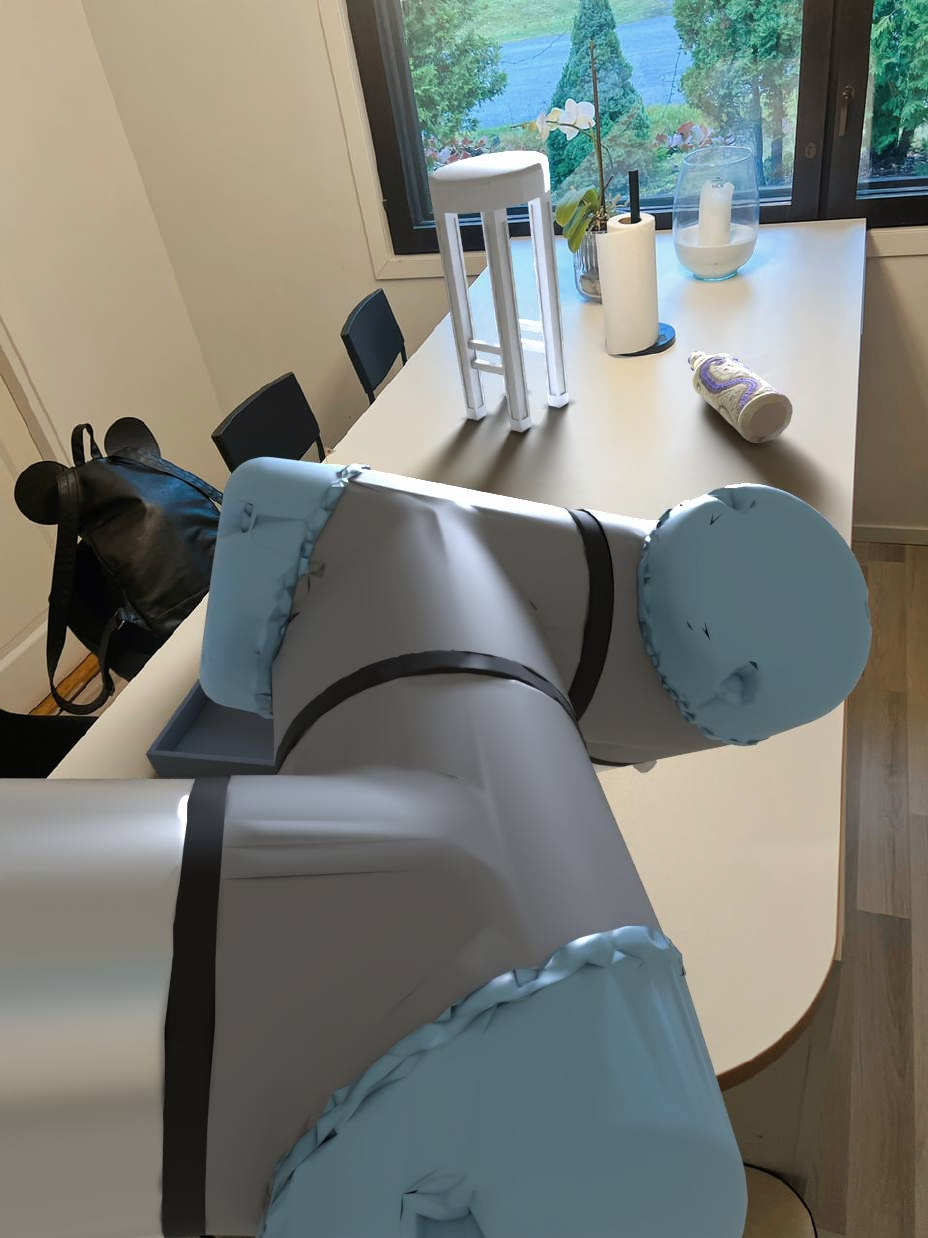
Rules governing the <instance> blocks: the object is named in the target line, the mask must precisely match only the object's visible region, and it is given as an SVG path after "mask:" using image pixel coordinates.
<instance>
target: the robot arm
mask: <svg viewBox="0 0 928 1238" xmlns="http://www.w3.org/2000/svg"><path fill="white" fill-rule="evenodd" d="M329 464H330V463H320V462H311V461H303V460H296V459H287V458H279V457H270V456H261V457H256V458H252V459H249V460H246V461H244V462H242V463H241V464H239V466H237V467H236V468H235V470H233V471H232V472H231V474H230V476H229V477H228V479H227V481H226V483H225V486H224V488H223V494H222V500H221V506H220V511H219V512H220V513H219V519H218V526H217V533H216V540H215V547H214V552H213V553H214V555H213V560H212V568H211V574H210V575H211V576H210V581H209V582H210V583H209V589H208V597H207V604H206V610H205V611H206V612H205V618H204V619H205V620H204V625H203V626H204V627H203V633H202V634H203V635H202V643H201V650H200V651H201V652H200V660H199V671H198V678H199V680H200V684H201V687H202V689H203V690H204V692H205V694H206V695H207V696H208V697H209V698H210V699H212V700H213V701H214V702H215V703H218V704H220V705H223V706H227V707H231V708H236V709H240V710H245V711H250V712H254V713H258V714H259V715H260V716H262V717H263V718H265V719H273V720H274V771H273V775H232V776H231V778H230V777H229V776H197V777H196V779H169V778H0V1238H191V1237H192V1238H193V1237H198V1236H199V1237H200V1236H231V1237H254V1238H743V1235H744V1232H745V1226H746V1220H747V1219H746V1218H747V1212H748V1202H749V1197H748V1188H747V1177H746V1171H745V1166H744V1162H743V1158H742V1155H741V1151H740V1149H739V1146H738V1143H737V1139H736V1136H735V1133H734V1130H733V1126H732V1123H731V1120H730V1116H729V1114H728V1111H727V1107H726V1104H725V1101H724V1097H723V1094H722V1091H721V1087H720V1085H719V1081H718V1078H717V1075H716V1071H715V1068H714V1065H713V1062H712V1059H711V1055H710V1052H709V1049H708V1046H707V1042H706V1040H705V1037H704V1033H703V1030H702V1026H701V1024H700V1023H701V1022H700V1021H699V1018H698V1014H697V1010H696V1008H695V1004H694V1002H693V997H692V994H691V991H690V988H689V985H688V981H687V978H686V975H687V971H686V968H685V966H684V961H683V953H682V952H681V951H680V950H679V949H678V947H677V946H676V945H675V944H674V942H673V941H672V939H671V938H670V937H668V936H667V935H665V933H664V931H663V929H662V927H661V924H660V922H659V919H658V917H657V914H656V912H655V910H654V907H653V905H652V903H651V900H650V898H649V895H648V893H647V891H646V888H645V886H644V884H643V881H642V879H641V876H640V873H639V872H638V869H637V867H636V865H635V863H634V859H633V858H632V855H631V852H630V851H629V848H628V845H627V844H626V841H625V838H624V837H623V833H622V832H621V829H620V826H619V824H618V822H617V819H616V817H615V815H614V812H613V810H612V808H611V805H610V803H609V801H608V798H607V795H606V794H605V791H604V788H603V787H602V783H601V782H600V779H599V777H598V773H603V772H606V771H610V770H614V769H615V770H616V769H619V768H625V767H629V766H632V767H633V769H635V770H636V771H637V772H639V773H640V774H644V773H645V774H646V773H649V772H650V771H652V770H653V769H654V768H655V767H656V765H657V763H658V760H663V759H668V758H673V757H677V756H682V755H687V754H692V753H697V752H702V751H707V750H712V749H717V748H722V747H727V746H731V745H732V746H737V747H751V746H752V747H753V746H757V745H758V744H759V743H760V742H763V741H766V740H769V739H770V738H771V737H773V736H776V735H780V734H781V733H784V732H788V731H790V730H792V729H796V728H798V727H802V726H804V725H807V724H810V723H812V722H814V721H817V720H819V719H821V718H823V717H824V716H827V715H828V714H830V713H831V712H832V711H834V710H835V709H837V708H838V706H840V705H841V704H842V703H843V702H844V701H845V700H846V699H847V698H848V697H849V695H850V694H851V693H852V692H853V691H854V689H855V687H856V686H857V684H858V683H859V680H860V679H861V677H862V675H863V673H864V671H865V668H866V665H867V662H868V661H869V657H870V651H871V645H872V635H873V627H872V625H871V615H872V614H871V611H870V608H869V606H870V605H869V594H870V593H869V592H870V591H869V589H868V586H867V582H866V579H865V577H864V574H863V571H862V567H861V565H860V564H859V562H858V559H857V558H856V555H855V554H854V552H853V550H852V549H851V548H850V546H849V544H848V542H847V541H846V540H845V539H844V537H843V536H842V535H841V533H840V532H839V530H838V529H837V528H836V527H835V526H834V525H833V524H832V523H831V522H830V520H829V519H827V518H826V516H825V515H824V514H822V513H820V511H818V510H817V509H816V508H814V506H811V505H810V504H809V503H807V502H806V501H804V500H802V499H801V498H799V497H797V496H796V495H793V494H792V493H789V492H787V491H786V490H785V491H784V490H782V489H779V488H776V487H773V486H768V485H763V484H756V483H741V484H733V485H727V486H723V487H720V488H716V489H713V490H711V491H709V492H707V493H705V494H703V495H701V496H698V497H697V498H695V499H692V500H691V501H690V500H689V499H687V500H684V501H682V502H680V503H679V504H678V505H677V506H675V507H674V508H668V509H667V510H666V511H665V512H664V513H663V514H662V515H661V516H659V518H658V519H657V520H647V519H640V518H633V517H629V516H623V515H619V514H613V513H608V512H603V511H597V510H593V509H586V508H578V509H572V508H567V507H561V506H559V507H556V506H554V505H551V504H550V505H549V504H544V503H539V502H536V501H535V502H534V501H529V500H525V499H520V498H514V497H509V496H504V495H498V494H493V493H489V492H484V491H479V490H474V489H468V488H464V487H459V486H454V485H449V484H444V483H439V482H433V481H428V480H422V479H418V478H414V477H408V476H403V475H397V474H393V473H387V472H382V471H377V470H373V469H372V468H371V465H368V464H365V463H352V464H349V465H346V466H345V465H342V466H337V465H338V464H337V465H329Z"/></svg>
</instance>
